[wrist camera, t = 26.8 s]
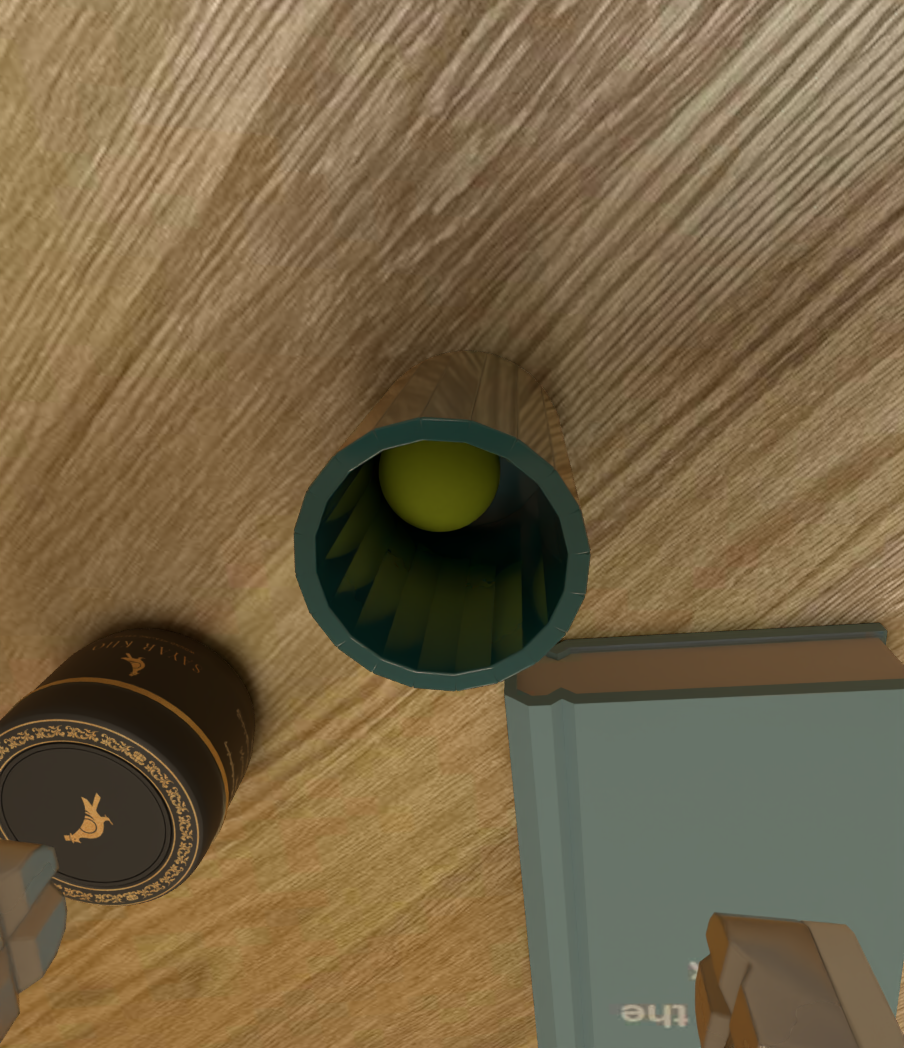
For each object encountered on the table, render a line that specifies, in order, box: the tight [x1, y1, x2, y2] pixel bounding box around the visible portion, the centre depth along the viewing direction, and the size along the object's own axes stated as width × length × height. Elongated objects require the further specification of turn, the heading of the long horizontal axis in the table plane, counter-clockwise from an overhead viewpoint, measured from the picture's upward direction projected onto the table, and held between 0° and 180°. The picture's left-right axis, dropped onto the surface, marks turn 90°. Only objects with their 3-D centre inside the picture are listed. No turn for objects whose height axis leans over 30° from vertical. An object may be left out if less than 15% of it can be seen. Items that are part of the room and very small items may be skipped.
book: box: [504, 623, 904, 1048], centre depth 35 cm, size 23×16×5 cm
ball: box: [379, 440, 500, 532], centre depth 28 cm, size 5×5×5 cm
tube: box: [294, 350, 591, 691], centre depth 25 cm, size 8×8×12 cm
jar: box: [0, 628, 255, 906], centre depth 33 cm, size 10×10×8 cm
